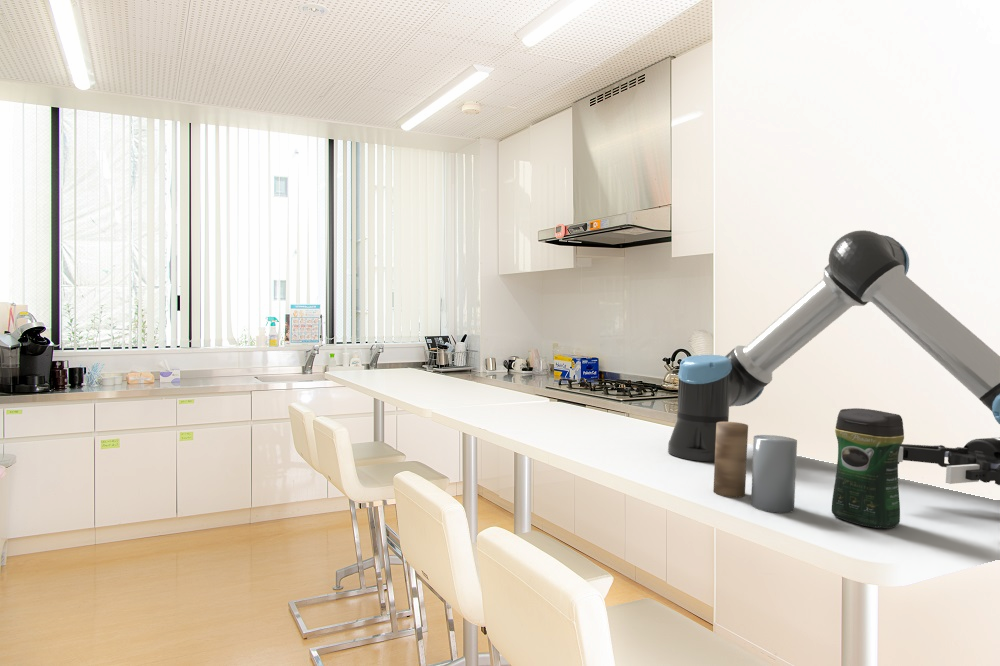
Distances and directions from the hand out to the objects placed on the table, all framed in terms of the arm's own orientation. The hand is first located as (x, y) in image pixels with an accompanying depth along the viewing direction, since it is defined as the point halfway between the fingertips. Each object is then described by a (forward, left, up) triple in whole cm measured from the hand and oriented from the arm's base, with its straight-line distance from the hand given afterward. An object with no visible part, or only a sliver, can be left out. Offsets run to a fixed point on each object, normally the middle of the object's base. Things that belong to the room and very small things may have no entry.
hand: (909, 464), depth 111 cm
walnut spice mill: (-19, -21, -9) cm, 30 cm away
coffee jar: (0, -9, -9) cm, 13 cm away
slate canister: (-10, -19, -9) cm, 24 cm away
